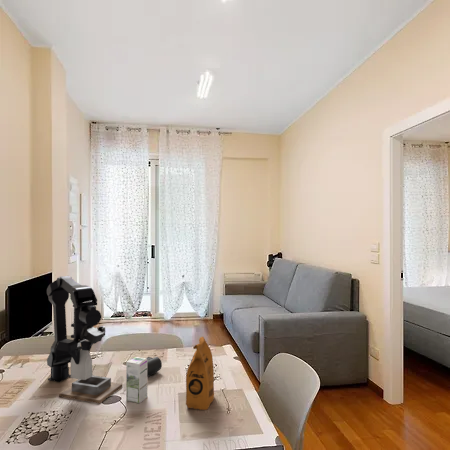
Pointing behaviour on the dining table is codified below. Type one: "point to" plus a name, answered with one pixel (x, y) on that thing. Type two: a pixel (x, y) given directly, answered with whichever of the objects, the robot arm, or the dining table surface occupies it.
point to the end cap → (153, 365)
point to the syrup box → (136, 379)
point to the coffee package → (200, 378)
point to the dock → (91, 389)
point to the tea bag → (82, 366)
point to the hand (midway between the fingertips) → (81, 362)
